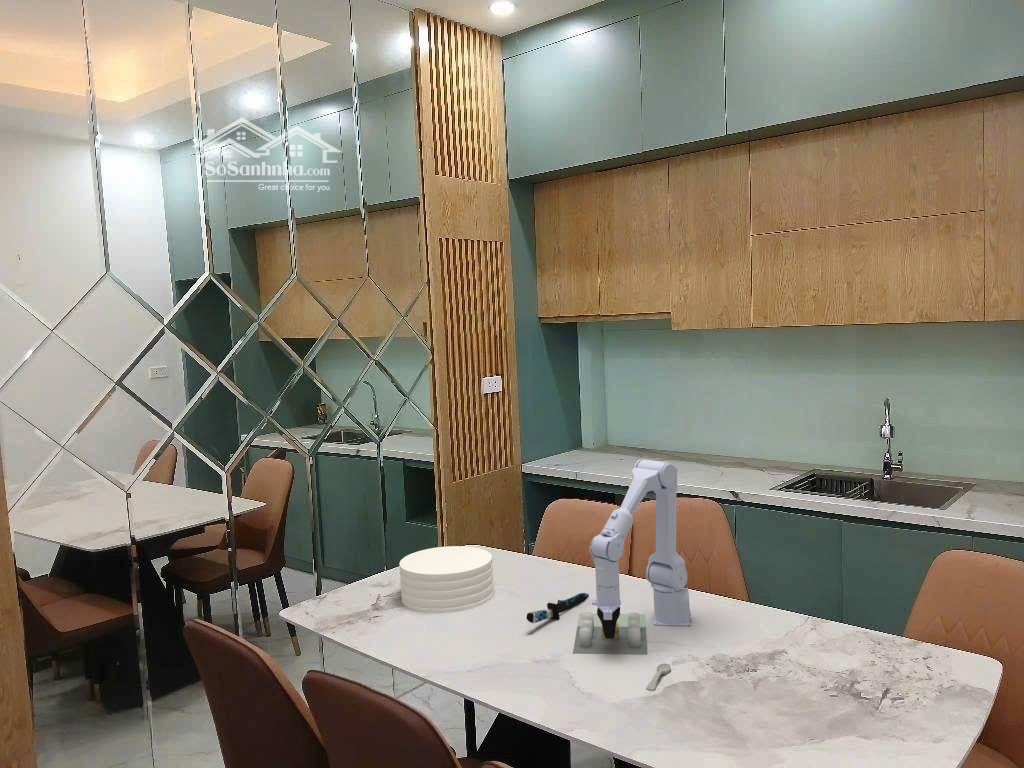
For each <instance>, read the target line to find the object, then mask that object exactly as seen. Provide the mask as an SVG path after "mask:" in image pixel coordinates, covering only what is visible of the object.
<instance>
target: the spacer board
mask: <svg viewBox="0 0 1024 768" xmlns="http://www.w3.org/2000/svg"><path fill="white" fill-rule="evenodd" d="M617 624H619V640H614V641H607V640H603V639H602V623H601V621H600V619H599V617H598V615H597V613H593V612H583V613H579V614H578V621H577V625H576V626H577V627H576V632H575V639H574V644H573V648H572V649H573V651H572V654H576V655H577V654H580V655H585V654H586V655H587V654H588V655H592V654H593V655H637V656H640V655H643V656H644V655H646V656H647V655H648V654H649V653H648V639H647V625H646V624H647V622H646V614H645V613H637V612H630V613H620V615H619V618H618V620H617Z"/></svg>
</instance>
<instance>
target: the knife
mask: <svg viewBox="0 0 1024 768" xmlns="http://www.w3.org/2000/svg"><path fill="white" fill-rule="evenodd" d="M589 597H590V594H589V593H586V592H579V593H577V594H576V595H573V596H571V597H569V598H567V599H563V600H561V599H557V603H553V602H547V603H546V609H541V610H535V611H531V612H530V611H529V612H528V613H526V620H527V621H528V622H529V623H530V624H536V623H541V622H542V621H545V620H547V619H548V620H549V619H553V620H557V621H558V620H560V614H561V613H564V612H566V611H568V610H572V609H573V608H575V607H576V606H579V605H581V604H582V603H583V602H585V601H586V600H588V598H589Z"/></svg>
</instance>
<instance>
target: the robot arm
mask: <svg viewBox="0 0 1024 768" xmlns="http://www.w3.org/2000/svg"><path fill="white" fill-rule="evenodd" d="M631 477H632V481H631V482H630V485H629V488H628V490H627V492H626V494H625V495H624V499H623V501H622V502H621V504H620V508H617V509H613V510H612V512H611V514H610V516H609V518H608V519H607V521H606V523H605V524H604V526H603V528H602V530H601V531H600V534H597V535H595V536H594V537H593V538H592V539H591V541H590V546H589V548H588V550H589V553H590V555H591V557H592V560H593V561H592V563H593V564H594V566H595V567H594V568H595V588H596V589H595V590H596V592H595V593H596V599H593V600H592V601H591V605H592V606H596V607H597V609H596V614H597V615H598V617H599V619H600V621H601V623H602V627H603V631H604V635H605V638H606V639H614V636H615V628H616V623H617V620H618V618H619V615H620V614H621V605H622V601H621V596H620V595H621V594H620V591H621V590H620V572H619V571H620V567H619V559H620V558H621V557H622V556H623V553H624V548H625V547H624V546H625V542H626V541H625V538H626V537H627V535H628V533H629V531H630V530H631V528H632V526H633V524H634V517H633V515H634V513H635V511H636V509H637V508H638V507H639V505H640V503H642V500H643V499H644V498H645V496H646V495H647V493H648V492H652V491H653V493H654V494H655V552H653V553H652V554H650V556H649V557H648V561H647V563H648V564H647V567H646V569H645V576H646V577H645V578H646V580H647V582H649V583H650V587H651V588H653V589H652V591H653V606H654V607H653V613H652V623H653V626H670V627H671V626H673V627H676V626H677V627H678V626H679V627H684V626H686V627H689V626H691V616H692V615H691V614H692V613H691V608H690V592H689V591H690V590H689V588H688V587H685V586H686V585H687V583H688V571H687V570H686V560H685V559H684V558H683V557H682V556H680V554H679V553H678V552H677V491H678V468H677V467H676V465H674V463H673V462H670V461H660V460H652V459H646V458H640V459H638V460H637V461H636V462H635V465H634V467H633V469H631Z"/></svg>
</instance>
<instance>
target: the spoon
mask: <svg viewBox="0 0 1024 768" xmlns="http://www.w3.org/2000/svg"><path fill="white" fill-rule="evenodd" d="M656 671H657V672H656V673H655V674H654V675H653V676H652V678H651V680H650V682H649V683H648V684H647V686H646V690H647V691H651V692H654V691H656V688H657V684H658V681H659V679H660V677H661V676H662V675H665V676H666V675H667V674H670V672H671V665H670V664H668V663H660V664H659V665H658V666H657V667H656Z"/></svg>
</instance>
